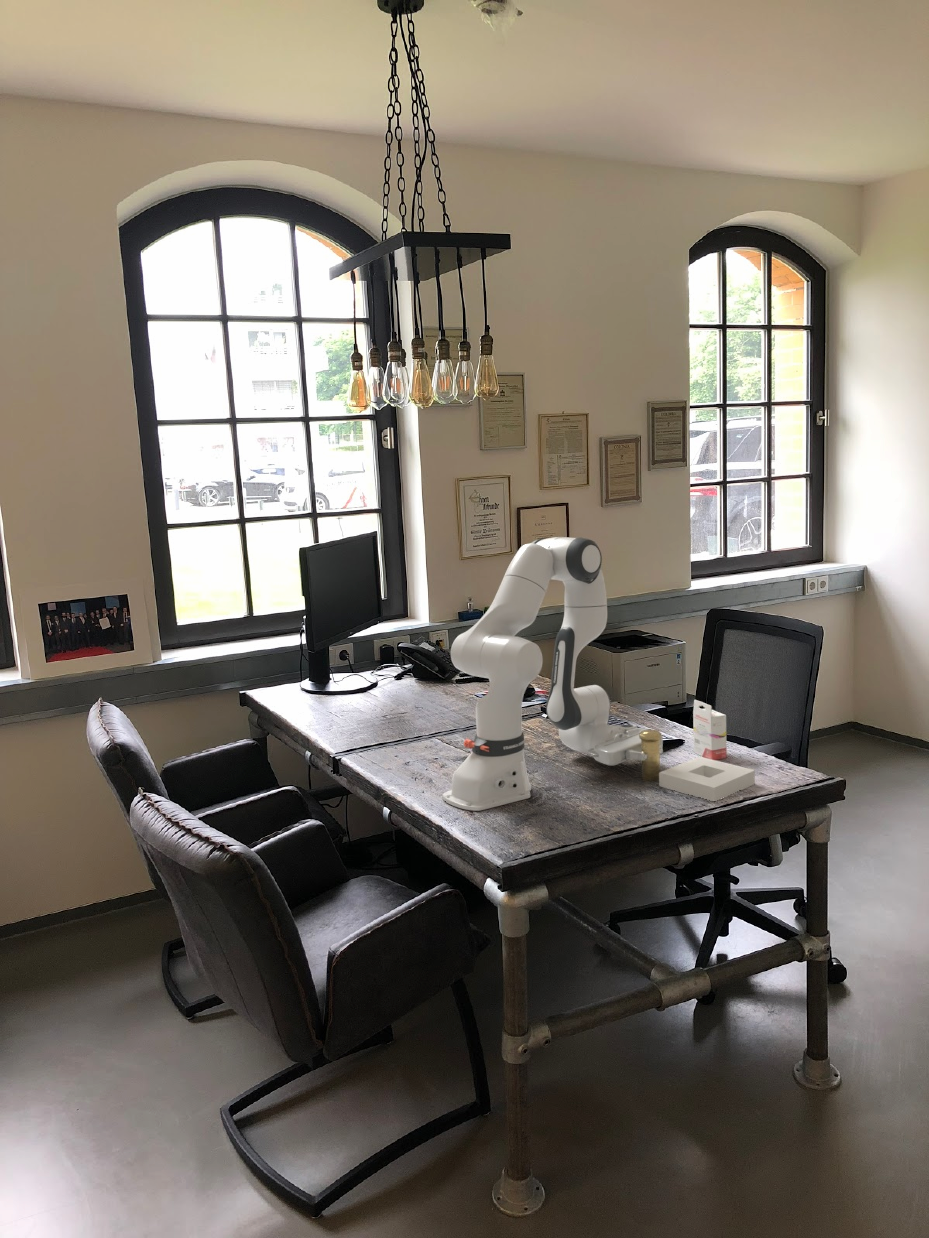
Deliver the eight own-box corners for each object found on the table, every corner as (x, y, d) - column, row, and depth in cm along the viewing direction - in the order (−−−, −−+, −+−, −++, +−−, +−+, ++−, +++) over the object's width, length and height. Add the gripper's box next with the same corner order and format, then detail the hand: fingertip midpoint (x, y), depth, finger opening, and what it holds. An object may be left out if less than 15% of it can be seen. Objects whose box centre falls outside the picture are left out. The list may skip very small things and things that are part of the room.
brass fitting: (652, 783, 240) (651, 736, 238) (635, 778, 244) (634, 732, 242) (666, 778, 243) (665, 731, 241) (649, 773, 248) (648, 727, 245)
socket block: (714, 802, 226) (714, 787, 225) (659, 786, 238) (659, 772, 237) (754, 784, 236) (754, 770, 235) (700, 769, 248) (699, 756, 247)
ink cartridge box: (727, 758, 256) (727, 703, 253) (711, 761, 254) (711, 706, 251) (708, 749, 264) (707, 696, 261) (692, 752, 262) (691, 699, 259)
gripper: (582, 740, 245) (625, 751, 235) (636, 722, 258) (678, 732, 248) (583, 764, 247) (625, 776, 236) (637, 745, 259) (679, 756, 249)
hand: (653, 753), depth 242 cm, fingers closed on brass fitting, 4 cm apart
